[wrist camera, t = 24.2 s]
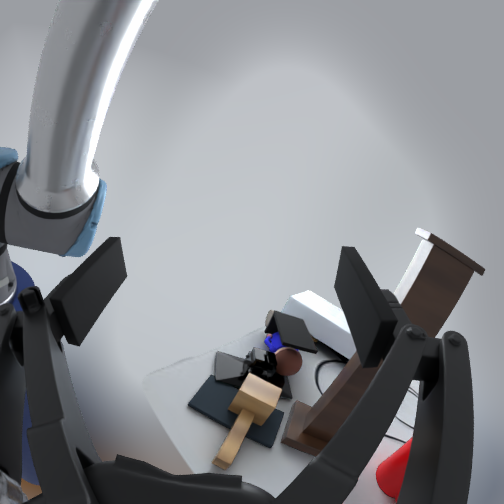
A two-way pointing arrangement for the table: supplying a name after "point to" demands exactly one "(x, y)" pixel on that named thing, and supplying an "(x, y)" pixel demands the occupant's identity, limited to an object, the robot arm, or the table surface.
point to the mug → (393, 471)
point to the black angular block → (251, 370)
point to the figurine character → (287, 341)
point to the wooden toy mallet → (247, 415)
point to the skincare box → (322, 321)
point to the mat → (216, 407)
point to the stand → (358, 379)
